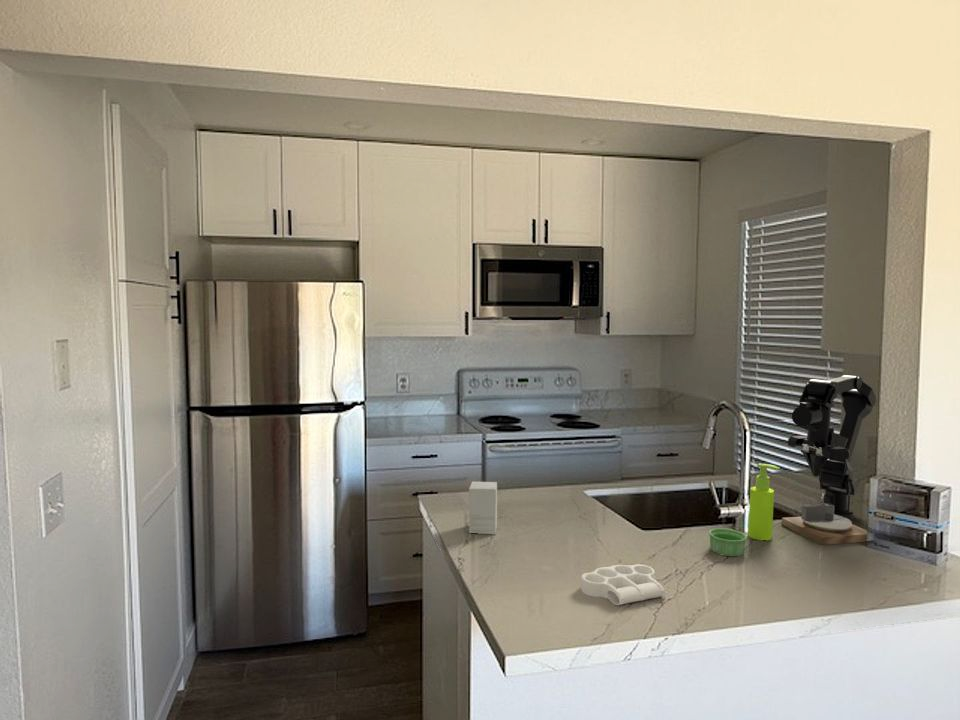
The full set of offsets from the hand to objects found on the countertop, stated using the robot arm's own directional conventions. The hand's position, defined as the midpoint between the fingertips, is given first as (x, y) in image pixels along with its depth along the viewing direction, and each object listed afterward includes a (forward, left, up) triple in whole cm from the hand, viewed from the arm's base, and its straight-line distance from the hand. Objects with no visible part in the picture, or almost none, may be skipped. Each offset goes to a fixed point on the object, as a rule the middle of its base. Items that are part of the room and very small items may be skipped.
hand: (815, 476), depth 192 cm
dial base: (+4, +10, -13) cm, 17 cm away
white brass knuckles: (+75, +33, -14) cm, 83 cm away
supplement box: (+97, -9, -13) cm, 98 cm away
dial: (+5, +10, -11) cm, 15 cm away
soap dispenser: (+24, +10, -13) cm, 29 cm away
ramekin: (+39, +17, -13) cm, 45 cm away
